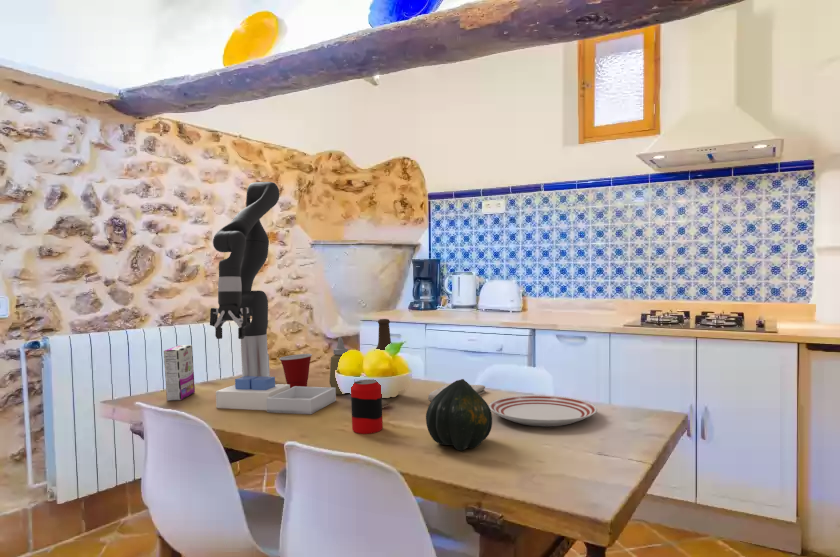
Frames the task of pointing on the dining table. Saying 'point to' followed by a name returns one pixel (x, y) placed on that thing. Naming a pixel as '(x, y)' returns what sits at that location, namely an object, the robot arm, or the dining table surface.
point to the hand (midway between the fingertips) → (230, 338)
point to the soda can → (366, 407)
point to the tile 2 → (262, 383)
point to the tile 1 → (244, 382)
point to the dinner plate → (542, 410)
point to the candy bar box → (179, 372)
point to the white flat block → (246, 397)
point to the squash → (459, 416)
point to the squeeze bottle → (336, 364)
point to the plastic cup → (296, 369)
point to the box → (301, 400)
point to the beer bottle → (383, 334)
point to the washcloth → (477, 388)
